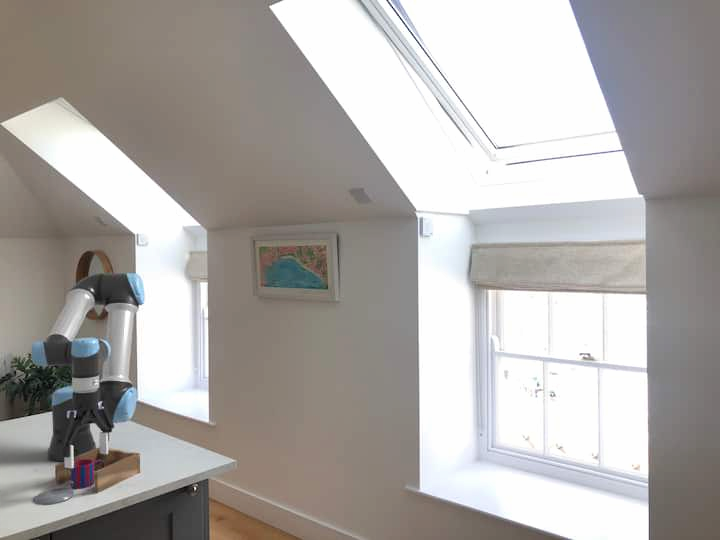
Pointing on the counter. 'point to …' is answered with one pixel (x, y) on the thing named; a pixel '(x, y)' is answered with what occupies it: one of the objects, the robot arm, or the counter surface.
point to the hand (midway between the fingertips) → (87, 460)
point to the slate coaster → (54, 496)
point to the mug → (83, 473)
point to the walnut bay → (115, 470)
